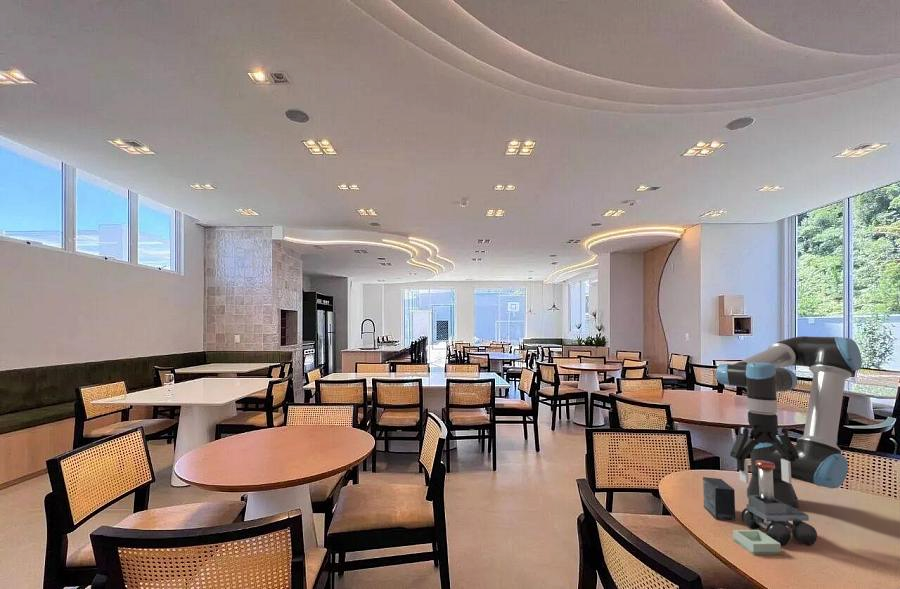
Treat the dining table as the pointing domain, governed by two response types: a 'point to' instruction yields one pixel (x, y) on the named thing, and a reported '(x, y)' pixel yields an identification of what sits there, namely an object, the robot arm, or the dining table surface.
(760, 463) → the pin
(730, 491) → the small box
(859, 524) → the dining table surface
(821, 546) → the dining table surface
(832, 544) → the dining table surface
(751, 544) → the tray
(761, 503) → the trolley
